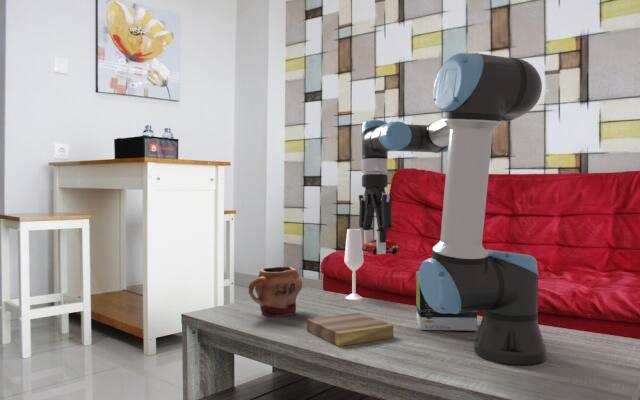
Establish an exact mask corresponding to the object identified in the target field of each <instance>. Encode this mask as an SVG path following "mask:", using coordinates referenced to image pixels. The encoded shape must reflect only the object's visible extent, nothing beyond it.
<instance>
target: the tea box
mask: <svg viewBox="0 0 640 400" xmlns="http://www.w3.org/2000/svg"><path fill="white" fill-rule="evenodd" d="M415 286H416V287H415V291H416V292H415V296H416V297H415V299H416V300H415V302H416V303H415V304H416V306H415V307H416V308H415V311H416V312H415V313H416V322H417V324H418V326H419V330H421V331H425V330H426V331H472V332H473V331H475V332H478V311H473V312H462V313H458V314H452V313H439V312H436V311H435V310H433V309H432V308H431V307H430V306H429V305H428V303H427V302H426V300H425V298H424V296H423V294H422V291H421V287H420V282H419V270H416V271H415Z"/></svg>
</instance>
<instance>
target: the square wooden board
mask: <svg viewBox="0 0 640 400" xmlns="http://www.w3.org/2000/svg"><path fill="white" fill-rule="evenodd" d="M306 331H307V332H308V333H311V334H313V335H314V336H316V337H319V338H321V339H323V340H326V341H327V342H328V343H331V344H333V345H335V346H337V347H341V346H348V345H354V344H361V343H368V342H373V341H379V340H386V339H390V338H391V339H392V338H394V324H391V323H388V322H385V321H382V320H380V319H376V318H374V317H371V316H370V315H369V316H368V315H365V314H363V313H359V312H355V313H347V314H339V315H331V316H324V317H316V318H315V317H314V318H308V319H306Z"/></svg>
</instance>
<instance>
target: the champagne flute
mask: <svg viewBox="0 0 640 400" xmlns="http://www.w3.org/2000/svg"><path fill="white" fill-rule="evenodd" d="M345 238H346V239H345V250H344V258H343V259H344V260H343V261H344V264H345V265H346V266H347V268H349V270H350V271H352V275H351V276H352V277H351V280H352V281H351V282H352V283H351V284H352V286H351V289H352V290H351V292H352V293H350V294H348V295H347V296H345V299H346V300H356V301H357V300H362V299H363V297H362V296H360V295H359V294H358V293H356V289H357V288H356V287H357V286H356V284H357V283H356V282H357V281H356V280H357V278H356V277H357V275H356V274H357V273H356V271H358V270H359V269H360V268H361V267H362V266H363V264H364V260H365V259H364V251H363V250H362V245H363V239H362V238H363V237H362V230H361V229H360V228H347V230H346V237H345Z"/></svg>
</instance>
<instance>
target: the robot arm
mask: <svg viewBox="0 0 640 400" xmlns="http://www.w3.org/2000/svg"><path fill="white" fill-rule="evenodd" d="M542 83H543V82H542V78H541V75H540V74H539V71H538V70H537V69H536V67H534V65H533V64H531V63H529V62H528V61H526V60H524V59H521V58H517V57H507V56H506V57H505V56H501V55H500V56H497V55H493V54H483V53H479V52H475V53H474V52H472V53H469V52H468V53H466V52H461V53H459V52H458V53H456V54H453V55H452V56H450V57H449V58H448V59H446V60H445V62H444V63H443V65H442V66H441V67H440V69H439V71H438V72H437V75H436V77H435V80H434V85H433V100H434V104H435V107H436V108H437V109H438V110H440V111H441V112H443V116H441V117H440V118H438V119H437V120H434V121H433V122H431V123H429V124H409V123H407V124H406V123H405V122H402V121H398V120H397V121H391V122H387V121H386V120H380V119H376V120H375V119H374V120H366V121H364V122H362V126H361V127H362V128H361V136H360V137H361V173H363V174H362V176H361V186H362V188H364V189H365V191H364V194H359V195H358V200H359V201H358V202H359V212H358V213H359V215H358V219H359V220H358V221H359V222H358V224H359V225H358V226H359V228H362V230H363V241H364V242H363V244H365V243H369V242H371V241H374V228H373V220H374V215H375V218H376V224H377V229H376V239H377V255H385V254H387V253H386V239H387V231H389V230H391V229H392V198H393V195H392V194H387V193H386V190H385V188H387V187H388V182H389V181H388V179H389V178H388V175H387V173H388V158H389V157H388V152H411V153H412V152H416V153H417V152H419V153H433V154H440V153H447V157H446V158H447V159H446V168H445V182H444V193H443V204H442V205H443V206H442V215H441V216H442V218H441V229H440V240H439V241H437V243H436V244H435V245H433V247H432V249H431V257H430V258H427V259H424V260H423V261H422V263H421V264H420V267H419V270H418V271H419V282H420V287H421V291H422V294H423V296H424V298H425V300H426V302H427V303H428V305H429V306H430V307H431V308H432V309H433V310H435V311H436V312H439V313H452V314H458V313H462V312H473V311H477V312H481V311H482V317H481V321H480V325H479V327H478V329H477V334H476V337H475V339H474V343H473V344H474V349H473V351H474V353H475V354H476V355H477V356H478V357H480V358H482V359H484V360H488V361H491V362H495V363H501V364H508V365H518V366H519V365H522V366H523V365H535V364H536V365H537V364H540V363H543V362H545V361H546V360H547V347H546V345H545V342H544V339H543V335H542V332H541V328H540V326H539V322H538V321H539V319H538V311H539V310H538V305H539V304H538V302H539V301H538V300H539V297H538V296H539V272H538V262H537V259H536V258H535V257H534V256H532V255H530V254H524V253H516V252H510V251H503V250H502V251H501V250H494V249H493V250H492V249H485V247H484V246H483V235H484V226H485V225H484V224H485V216H486V206H487V205H486V204H487V192H488V185H489V173H490V165H491V164H490V163H491V152H492V142H493V132H494V130H495V129H496V128H498V127H499V126H500V125H501V124H502V122H511V121H513V120H515V119H518V118H520V117H522V116H523V115H526V114H527V113H528V112H530V111H531V110H532V109H534V107H536V105H537V103H538V101H539V100H540V97H541V95H542V89H543V86H542V85H543V84H542ZM363 253H366V252H365V251H363Z"/></svg>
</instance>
